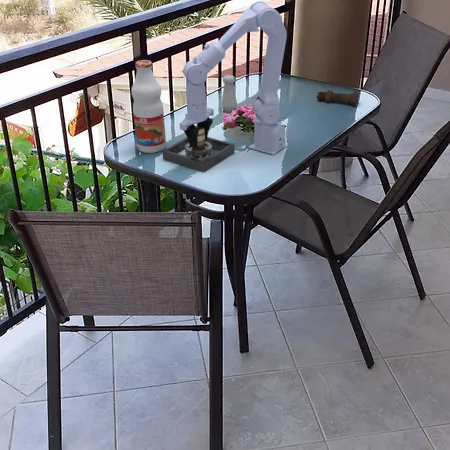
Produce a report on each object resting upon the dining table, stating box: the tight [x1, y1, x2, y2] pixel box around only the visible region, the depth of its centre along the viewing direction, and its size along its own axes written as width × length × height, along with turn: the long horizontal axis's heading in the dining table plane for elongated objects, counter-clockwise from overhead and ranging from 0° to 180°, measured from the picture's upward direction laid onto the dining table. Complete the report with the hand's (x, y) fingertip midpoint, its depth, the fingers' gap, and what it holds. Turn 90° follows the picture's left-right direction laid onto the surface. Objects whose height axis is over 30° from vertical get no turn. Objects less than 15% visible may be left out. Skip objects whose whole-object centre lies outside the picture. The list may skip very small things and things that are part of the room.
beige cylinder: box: [190, 124, 206, 151], centre depth 182 cm, size 5×5×7 cm
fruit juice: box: [131, 59, 167, 154], centre depth 184 cm, size 9×9×28 cm
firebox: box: [161, 136, 235, 173], centre depth 185 cm, size 16×16×3 cm
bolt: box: [316, 89, 360, 107], centre depth 221 cm, size 6×5×15 cm
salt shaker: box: [221, 74, 238, 113], centre depth 214 cm, size 6×6×13 cm
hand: (198, 143), depth 183 cm, fingers closed on beige cylinder, 4 cm apart
